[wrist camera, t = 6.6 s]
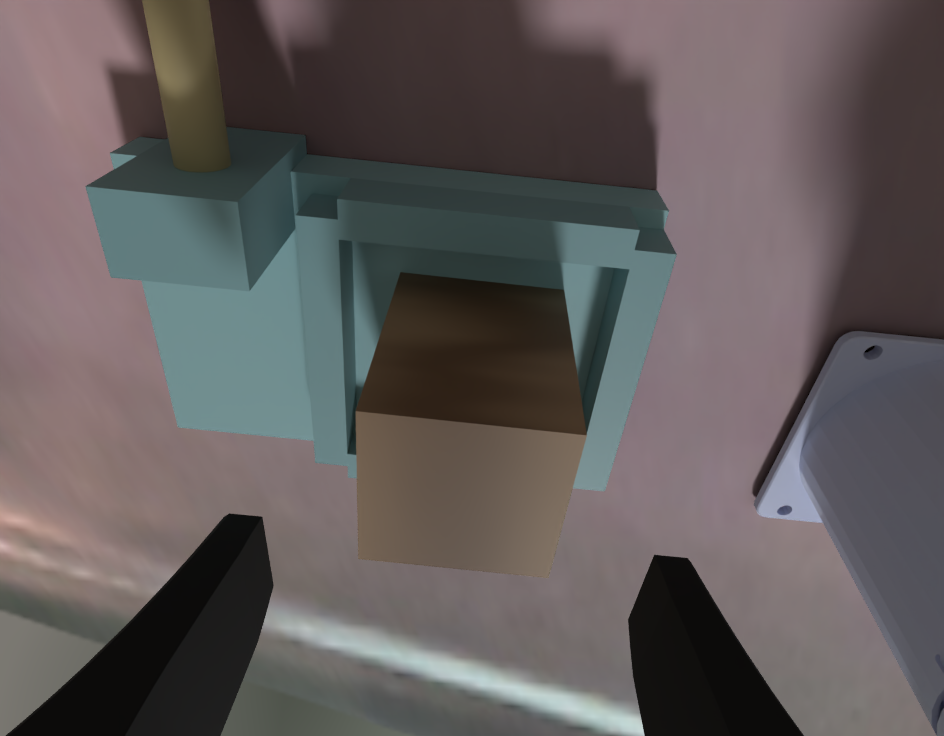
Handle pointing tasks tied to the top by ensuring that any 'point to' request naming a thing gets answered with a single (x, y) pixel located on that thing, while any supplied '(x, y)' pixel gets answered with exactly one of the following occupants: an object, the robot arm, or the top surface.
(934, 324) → the top surface
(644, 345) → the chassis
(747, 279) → the top surface
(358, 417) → the brown wooden block
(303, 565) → the top surface
